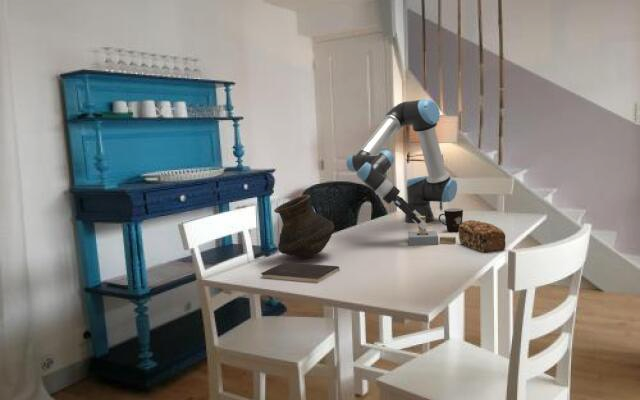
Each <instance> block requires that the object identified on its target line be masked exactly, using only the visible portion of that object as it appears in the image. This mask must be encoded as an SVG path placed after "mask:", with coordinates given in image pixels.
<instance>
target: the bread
mask: <svg viewBox="0 0 640 400" xmlns="http://www.w3.org/2000/svg"><path fill="white" fill-rule="evenodd" d="M457 233H458V236H459V237H458V239H459V243H460V244H461V245H463V246H465V247H467V248H470V249H472V250H475V251H479V252H481V253H486V252H487V253H491V252H493V251H494V252H499V251H505V249H506V234H505V232H504V231H503V229H501V228H499V227H498V226H496V225H494V224H492V223H488V222H485V221H480V220H477V221H476V220H475V219H473V220H472V219H471V220H470V219H469V220H466V221H462V224H460V226H459V230H458V232H457Z"/></svg>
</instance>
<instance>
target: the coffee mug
mask: <svg viewBox="0 0 640 400" xmlns="http://www.w3.org/2000/svg"><path fill="white" fill-rule="evenodd" d="M463 215H464V209H463V208H457V207H454V208H452V207H451V208H446V209H443V213H441V214H439V216H438V221H439V222H440V223H441V224H443V225H444V226H446V230H447V232H448V233H459V232H458V230H459V226H460V224H462V223H463ZM441 216H444V218H445V222H443V221H442V220H441Z"/></svg>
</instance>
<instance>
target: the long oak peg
mask: <svg viewBox="0 0 640 400" xmlns="http://www.w3.org/2000/svg"><path fill="white" fill-rule="evenodd" d="M418 217H419V218H421V219H422V220H423V221H424V222H425V223H426V224H427V222H426V219H425V216H418ZM426 231H427V227H426V228H425V229H424V230H423V229H422V228H421V227H420V226H418V232H419V235H426Z"/></svg>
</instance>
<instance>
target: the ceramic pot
mask: <svg viewBox="0 0 640 400" xmlns="http://www.w3.org/2000/svg"><path fill="white" fill-rule="evenodd" d="M310 198H311V195H310V194H304V195H301V196H298V197H295V198H294V199H292V200H289V201H286V202H284V203H283V204H280V205H278V207H276V208H275V209H274V213H277V214H278V215H279V217H280V219H281V222H282V228H281V232H280V234H279V240H278V241H279V242H278V245H277V248H278V249H277V250H278V252H280V253H281V254H283V255H288V256H292V257H295V258H300V259H301V258H302V259H309V258H311V257H312V258H313V257H315V256H316V255H317V254H320V253H321V252H322V251H323V250H324V248H326V247H327V245H328V244H329V243H328V242H330V240H331V238H332V235H333V233H334V230H335V224H334V222H333V221H332V220H330V219H328V218H327V217H324V216H323V215H320V214H319V213H317V212H315V211H314V210H313V208H312V206H311V204H310Z"/></svg>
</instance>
